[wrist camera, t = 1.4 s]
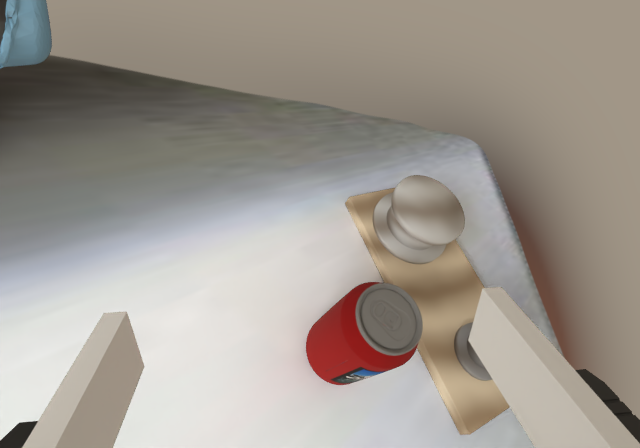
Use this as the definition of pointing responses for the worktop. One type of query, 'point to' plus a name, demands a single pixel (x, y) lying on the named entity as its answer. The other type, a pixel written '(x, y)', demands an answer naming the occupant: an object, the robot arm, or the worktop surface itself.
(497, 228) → the worktop surface
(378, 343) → the beverage can
